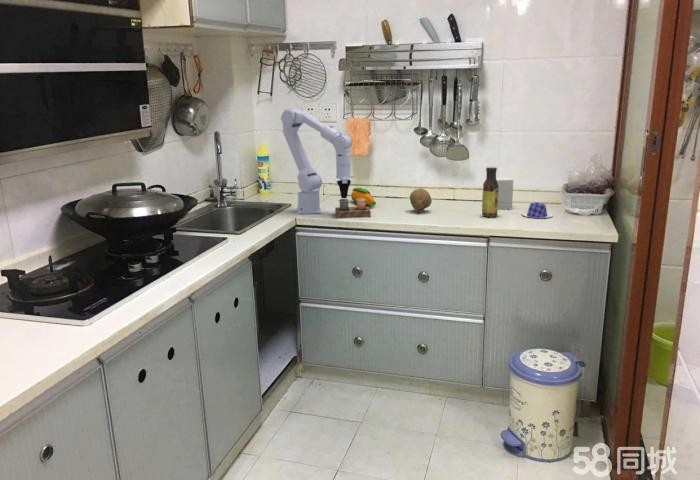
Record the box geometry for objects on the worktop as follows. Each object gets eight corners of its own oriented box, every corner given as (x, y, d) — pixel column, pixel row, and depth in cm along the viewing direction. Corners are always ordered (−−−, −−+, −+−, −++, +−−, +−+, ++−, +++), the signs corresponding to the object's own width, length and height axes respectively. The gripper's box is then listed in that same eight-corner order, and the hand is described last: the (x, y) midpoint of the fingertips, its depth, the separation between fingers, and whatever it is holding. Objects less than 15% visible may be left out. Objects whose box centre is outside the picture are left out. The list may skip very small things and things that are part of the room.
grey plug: (339, 210, 242) (339, 200, 241) (339, 208, 246) (338, 199, 245) (349, 210, 243) (349, 200, 242) (348, 208, 246) (348, 198, 245)
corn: (361, 183, 273) (381, 190, 256) (362, 199, 276) (382, 207, 258) (346, 186, 271) (365, 193, 253) (348, 202, 273) (366, 210, 255)
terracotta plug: (356, 209, 243) (356, 200, 242) (355, 207, 247) (355, 198, 246) (366, 209, 243) (366, 200, 242) (365, 207, 247) (365, 198, 246)
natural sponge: (426, 208, 255) (427, 186, 252) (434, 213, 246) (435, 189, 244) (406, 210, 252) (407, 187, 250) (414, 214, 244) (414, 191, 241)
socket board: (336, 218, 241) (336, 212, 240) (335, 213, 249) (335, 207, 249) (370, 217, 242) (370, 211, 241) (368, 212, 250) (368, 206, 250)
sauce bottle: (497, 218, 236) (500, 168, 231) (481, 217, 237) (483, 168, 232) (497, 214, 242) (499, 166, 237) (481, 214, 243) (483, 166, 238)
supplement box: (512, 209, 251) (513, 179, 248) (494, 209, 251) (496, 180, 248) (508, 205, 258) (509, 177, 255) (491, 205, 258) (492, 177, 255)
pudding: (558, 217, 236) (559, 205, 234) (534, 221, 232) (535, 207, 230) (539, 211, 247) (540, 199, 245) (515, 214, 242) (516, 202, 241)
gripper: (354, 167, 233) (355, 201, 236) (351, 162, 247) (352, 194, 250) (336, 167, 232) (337, 201, 236) (334, 162, 246) (335, 194, 250)
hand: (344, 197), depth 243 cm, fingers closed
